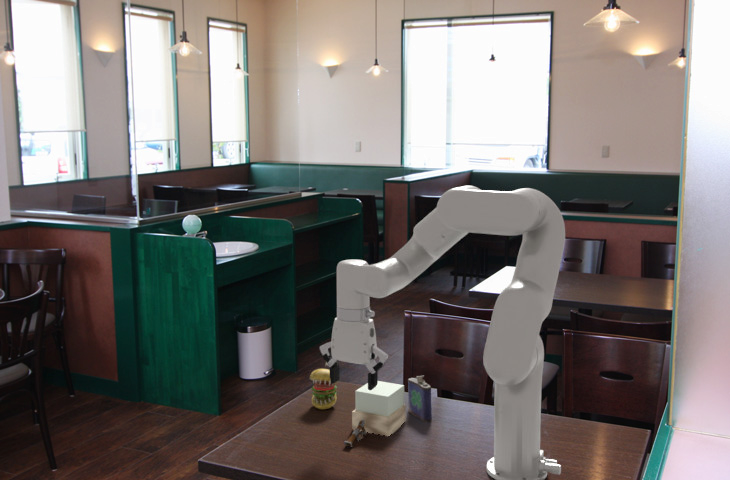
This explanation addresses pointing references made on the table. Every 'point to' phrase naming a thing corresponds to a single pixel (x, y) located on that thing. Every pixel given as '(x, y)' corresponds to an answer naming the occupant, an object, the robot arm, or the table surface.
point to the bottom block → (380, 421)
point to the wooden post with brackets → (356, 433)
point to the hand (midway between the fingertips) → (353, 385)
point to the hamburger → (323, 389)
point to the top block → (380, 398)
